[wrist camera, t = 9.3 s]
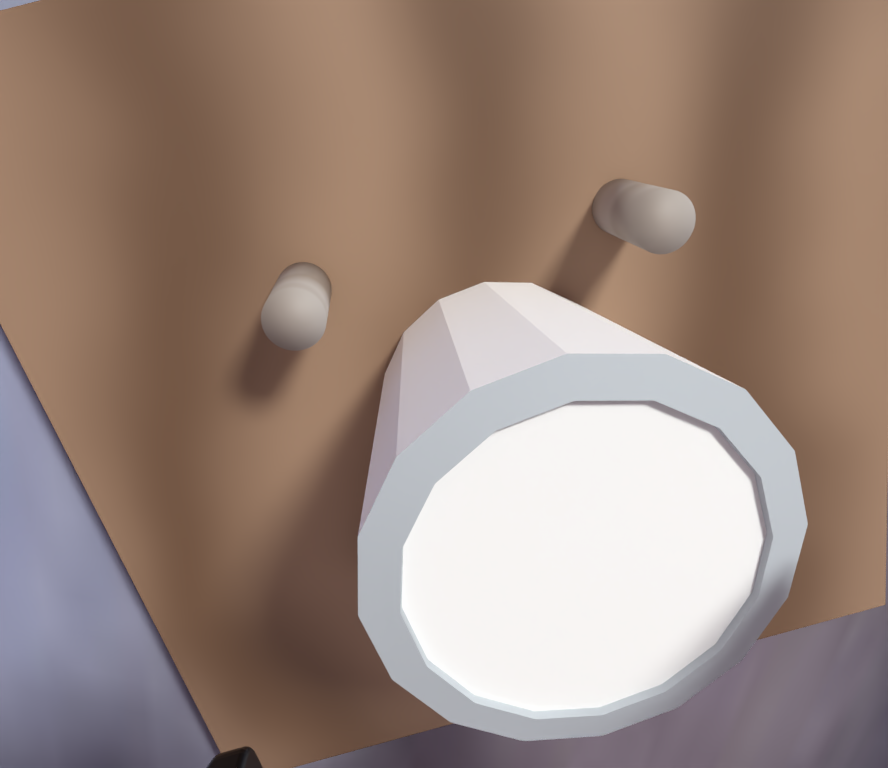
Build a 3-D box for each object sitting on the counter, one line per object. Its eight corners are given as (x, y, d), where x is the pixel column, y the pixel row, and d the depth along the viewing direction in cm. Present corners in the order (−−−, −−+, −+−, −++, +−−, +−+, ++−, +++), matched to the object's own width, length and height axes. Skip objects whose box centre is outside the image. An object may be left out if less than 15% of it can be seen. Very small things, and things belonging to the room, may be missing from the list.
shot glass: (692, 358, 17) (904, 510, 10) (521, 558, 18) (609, 801, 12) (471, 189, 15) (560, 246, 8) (300, 432, 16) (259, 641, 10)
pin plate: (862, -195, 14) (1017, -292, 10) (862, 583, 21) (952, 667, 18) (-108, 51, 13) (-257, 30, 10) (241, 753, 21) (220, 869, 18)
